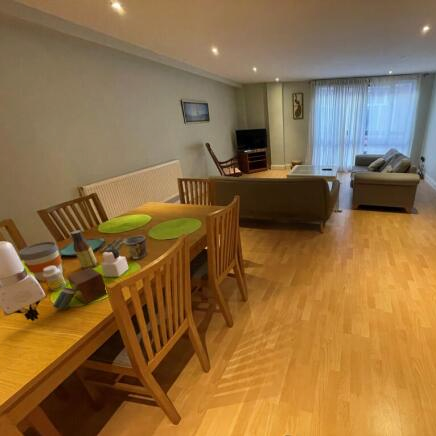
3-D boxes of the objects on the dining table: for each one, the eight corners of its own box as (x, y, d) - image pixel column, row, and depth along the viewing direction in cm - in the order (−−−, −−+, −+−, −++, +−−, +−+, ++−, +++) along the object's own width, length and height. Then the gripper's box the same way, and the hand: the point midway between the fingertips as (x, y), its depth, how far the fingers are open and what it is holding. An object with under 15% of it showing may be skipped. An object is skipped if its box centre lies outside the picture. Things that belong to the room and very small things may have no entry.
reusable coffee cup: (24, 281, 111) (9, 253, 105) (53, 266, 122) (41, 240, 116) (47, 284, 109) (34, 255, 103) (74, 268, 120) (63, 242, 115)
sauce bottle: (92, 261, 126) (80, 227, 119) (100, 264, 124) (88, 229, 116) (78, 268, 120) (64, 233, 113) (86, 271, 118) (72, 235, 111)
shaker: (58, 314, 92) (50, 297, 89) (53, 310, 94) (46, 293, 91) (82, 302, 98) (76, 286, 95) (77, 299, 100) (71, 282, 97)
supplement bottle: (52, 285, 108) (43, 266, 104) (68, 281, 110) (60, 263, 107) (47, 292, 103) (38, 273, 100) (64, 289, 106) (55, 269, 102)
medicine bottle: (115, 268, 121) (108, 247, 116) (129, 268, 120) (122, 247, 116) (104, 276, 114) (96, 255, 109) (119, 277, 114) (111, 255, 109)
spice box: (86, 304, 97) (77, 284, 93) (75, 296, 101) (66, 276, 98) (108, 293, 103) (101, 273, 99) (96, 285, 108) (89, 267, 104)
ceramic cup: (126, 255, 132) (121, 239, 128) (146, 249, 138) (142, 233, 134) (132, 265, 123) (127, 248, 119) (153, 257, 130) (149, 241, 126)
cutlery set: (75, 242, 146) (73, 239, 145) (129, 238, 151) (128, 235, 150) (51, 260, 128) (49, 256, 127) (113, 254, 133) (112, 250, 132)
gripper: (-21, 294, 73) (8, 337, 80) (44, 269, 85) (64, 309, 92) (-27, 286, 76) (0, 328, 83) (36, 263, 88) (55, 302, 95)
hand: (34, 318), depth 87 cm, fingers closed
